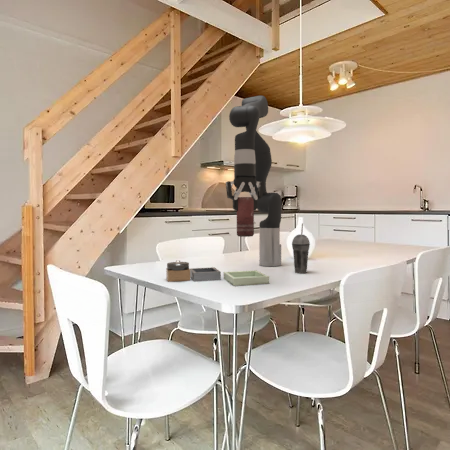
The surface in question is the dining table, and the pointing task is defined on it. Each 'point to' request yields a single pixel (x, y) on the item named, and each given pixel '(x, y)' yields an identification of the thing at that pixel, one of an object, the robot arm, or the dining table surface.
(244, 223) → the can
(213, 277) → the brown and grey dock
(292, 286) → the dining table surface
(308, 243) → the beverage cup
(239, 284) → the tray
